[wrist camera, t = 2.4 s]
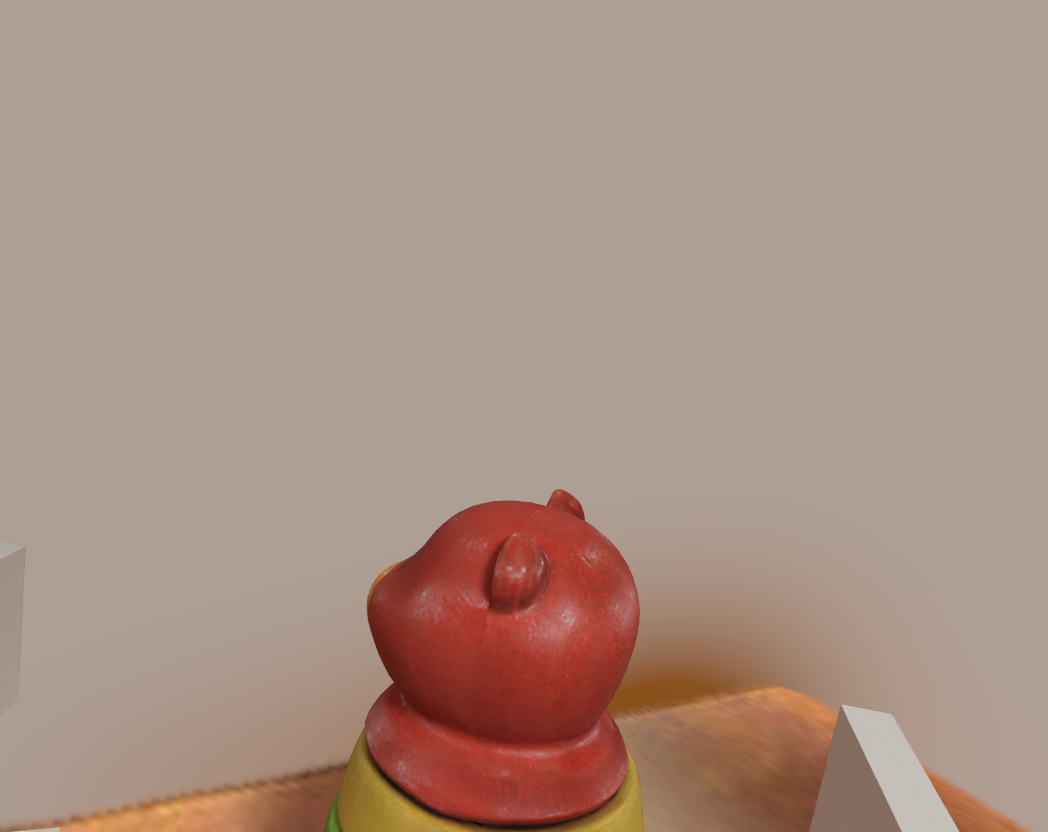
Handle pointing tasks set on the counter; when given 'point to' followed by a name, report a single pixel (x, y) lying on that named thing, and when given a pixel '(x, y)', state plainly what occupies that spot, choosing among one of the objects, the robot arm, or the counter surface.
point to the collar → (42, 830)
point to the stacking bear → (499, 681)
